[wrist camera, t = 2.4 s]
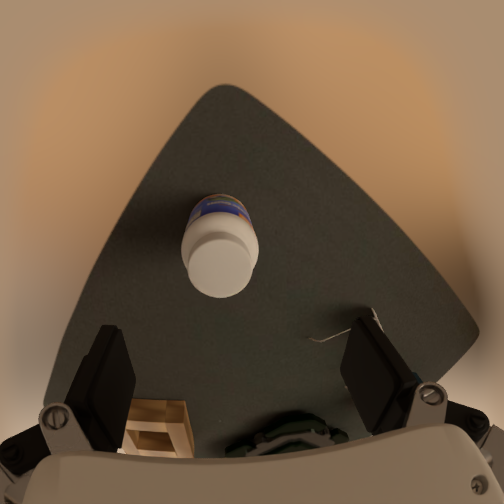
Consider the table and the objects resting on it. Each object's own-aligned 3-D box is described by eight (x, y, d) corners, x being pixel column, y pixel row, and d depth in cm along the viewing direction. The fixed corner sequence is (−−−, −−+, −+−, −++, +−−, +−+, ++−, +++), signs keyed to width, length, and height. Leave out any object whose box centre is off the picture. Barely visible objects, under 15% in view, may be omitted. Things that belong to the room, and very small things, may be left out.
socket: (129, 435, 39) (126, 454, 35) (109, 396, 34) (103, 417, 31) (194, 439, 40) (194, 459, 36) (184, 400, 36) (183, 423, 32)
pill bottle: (259, 209, 27) (282, 250, 18) (231, 258, 28) (240, 318, 19) (205, 182, 25) (199, 211, 16) (179, 234, 27) (163, 287, 18)
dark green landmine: (298, 400, 38) (306, 425, 34) (352, 431, 45) (360, 449, 41) (212, 447, 41) (213, 469, 37) (277, 470, 48) (281, 487, 44)
